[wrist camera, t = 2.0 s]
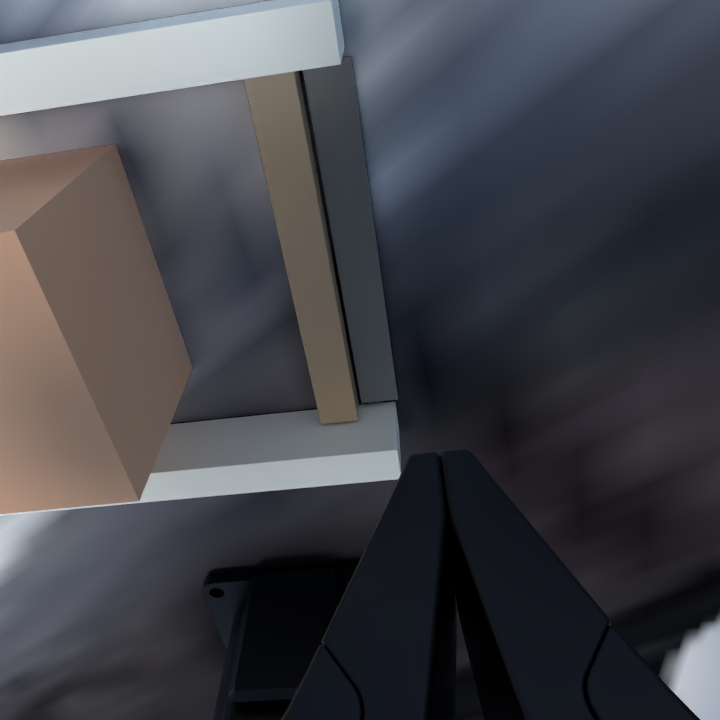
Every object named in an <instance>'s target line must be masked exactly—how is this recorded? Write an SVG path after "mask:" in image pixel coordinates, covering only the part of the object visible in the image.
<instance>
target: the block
mask: <svg viewBox="0 0 720 720" xmlns="http://www.w3.org/2000/svg"><path fill="white" fill-rule="evenodd" d="M192 370H193V366H192V364H191V361H190V358H189V355H188V352H187V349H186V346H185V343H184V340H183V337H182V335H181V332H180V329H179V326H178V323H177V320H176V317H175V314H174V311H173V309H172V306H171V303H170V300H169V297H168V294H167V291H166V288H165V285H164V282H163V280H162V277H161V274H160V271H159V268H158V265H157V262H156V259H155V256H154V254H153V251H152V248H151V245H150V242H149V239H148V236H147V233H146V230H145V227H144V225H143V222H142V219H141V216H140V213H139V210H138V207H137V204H136V201H135V198H134V196H133V193H132V190H131V187H130V184H129V181H128V178H127V175H126V172H125V170H124V167H123V164H122V161H121V158H120V155H119V152H118V149H117V146H116V144H111V145H104V146H97V147H91V148H84V149H77V150H70V151H64V152H57V153H50V154H43V155H36V156H30V157H23V158H16V159H9V160H3V161H0V514H8V513H19V512H29V511H40V510H50V509H61V508H72V507H82V506H93V505H103V504H114V503H125V502H135V501H139V500H140V498H141V495H142V493H143V491H144V488H145V486H146V483H147V481H148V478H149V476H150V473H151V471H152V468H153V466H154V463H155V461H156V458H157V456H158V454H159V451H160V449H161V446H162V444H163V441H164V439H165V436H166V434H167V431H168V429H169V426H170V424H171V421H172V419H173V416H174V414H175V412H176V409H177V407H178V404H179V402H180V399H181V397H182V394H183V392H184V389H185V387H186V384H187V382H188V379H189V377H190V374H191V372H192Z"/></svg>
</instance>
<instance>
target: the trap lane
mask: <svg viewBox="0 0 720 720" xmlns="http://www.w3.org/2000/svg"><path fill="white" fill-rule="evenodd" d="M344 48H345V44H344V37H343V30H342V23H341V16H340V9H339V2H338V0H271V1H265V2H259V3H253V4H246V5H240V6H234V7H228V8H222V9H216V10H210V11H203V12H197V13H191V14H185V15H179V16H173V17H166V18H160V19H154V20H148V21H142V22H136V23H129V24H123V25H117V26H111V27H105V28H99V29H92V30H86V31H80V32H74V33H68V34H62V35H55V36H49V37H43V38H37V39H31V40H25V41H19V42H12V43H6V44H0V116H4V115H10V114H17V113H24V112H30V111H37V110H43V109H50V108H57V107H63V106H70V105H76V104H83V103H90V102H96V101H103V100H109V99H116V98H122V97H129V96H136V95H142V94H149V93H155V92H162V91H169V90H175V89H182V88H188V87H195V86H202V85H208V84H215V83H221V82H228V81H235V80H241V79H243V80H244V84H245V89H246V93H247V97H248V102H249V106H250V111H251V115H252V120H253V124H254V129H255V133H256V137H257V142H258V146H259V151H260V155H261V160H262V164H263V169H264V173H265V177H266V182H267V186H268V191H269V195H270V200H271V204H272V209H273V213H274V217H275V222H276V226H277V231H278V235H279V240H280V244H281V248H282V253H283V257H284V262H285V266H286V271H287V275H288V280H289V284H290V288H291V293H292V297H293V302H294V306H295V311H296V315H297V320H298V324H299V328H300V333H301V337H302V342H303V346H304V351H305V355H306V360H307V364H308V368H309V373H310V377H311V382H312V386H313V391H314V395H315V400H316V404H317V408H318V409H315V410H305V411H296V412H286V413H276V414H266V415H257V416H247V417H237V418H227V419H218V420H208V421H198V422H188V423H179V424H170V426H169V429H168V431H167V434H166V436H165V439H164V441H163V444H162V446H161V449H160V451H159V454H158V456H157V458H156V461H155V463H154V466H153V468H152V471H151V473H150V476H149V478H148V481H147V483H146V486H145V488H144V491H143V493H142V495H141V498H140V500H139V501H135V502H125V503H114V504H103V505H93V506H82V507H72V508H61V509H50V510H40V511H29V512H19V513H8V514H0V516H2V515H13V514H24V513H34V512H45V511H56V510H67V509H78V508H89V507H100V506H111V505H122V504H133V503H144V502H155V501H165V500H176V499H187V498H198V497H209V496H220V495H231V494H242V493H253V492H264V491H275V490H286V489H296V488H307V487H318V486H329V485H340V484H351V483H362V482H373V481H384V480H395V479H399V477H400V475H401V458H400V438H399V425H398V418H397V411H396V404H395V401H393V402H383V403H373V404H364V405H359V401H358V396H357V390H356V385H355V379H354V374H353V368H352V362H351V357H350V351H349V346H348V340H347V335H346V329H345V324H344V318H343V313H342V307H341V301H340V296H339V290H338V285H337V279H336V274H335V268H334V263H333V257H332V252H331V246H330V240H329V235H328V229H327V224H326V218H325V213H324V207H323V202H322V196H321V190H320V185H319V179H318V174H317V168H316V163H315V157H314V152H313V146H312V141H311V135H310V129H309V124H308V118H307V113H306V107H305V102H304V96H303V91H302V85H301V80H300V74H299V71H301V70H303V76H304V81H305V87H306V93H307V98H308V104H309V109H310V115H311V121H312V126H313V132H314V138H315V143H316V149H317V155H318V160H319V166H320V171H321V177H322V183H323V188H324V194H325V200H326V205H327V211H328V217H329V222H330V228H331V233H332V239H333V245H334V250H335V256H336V262H337V267H338V273H339V279H340V284H341V290H342V296H343V301H344V307H345V312H346V318H347V324H348V329H349V335H350V341H351V346H352V352H353V358H354V363H355V369H356V374H357V380H358V386H359V391H360V397H361V403H369V402H379V401H389V400H398V392H397V385H396V377H395V370H394V363H393V356H392V348H391V341H390V334H389V327H388V319H387V312H386V305H385V298H384V290H383V283H382V276H381V269H380V261H379V254H378V247H377V240H376V232H375V225H374V218H373V211H372V203H371V196H370V189H369V182H368V174H367V167H366V160H365V153H364V145H363V138H362V131H361V124H360V116H359V109H358V102H357V95H356V87H355V80H354V73H353V66H352V58H351V56H350V57H344V58H342V56H343V52H344Z"/></svg>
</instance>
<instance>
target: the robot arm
mask: <svg viewBox="0 0 720 720" xmlns="http://www.w3.org/2000/svg"><path fill="white" fill-rule="evenodd" d="M440 462H441V463H440ZM453 578H454V580H453ZM454 587H455V590H454ZM202 595H203V597H204V599H205V601H206V604H207V606H208V608H209V611H210V613H211V615H212V618H213V620H214V622H215V625H216V627H217V629H218V632H219V634H220V636H221V639H222V641H223V643H224V645H225V648H226V650H227V653H226V658H225V663H224V668H223V673H222V678H221V683H220V688H219V693H218V698H217V703H216V708H215V713H214V718H213V720H456V628H457V625H456V601H457V608H458V613H459V617H460V622H461V627H462V631H463V635H464V639H465V643H466V647H467V651H468V655H469V659H470V663H471V667H472V671H473V675H474V679H475V683H476V687H477V692H478V696H479V700H480V704H481V708H482V712H483V716H484V720H700V719H699V718H698V717H697V716H696V715H695V714H694V713H693V712H692V711H691V710H690V709H689V708H688V707H687V706H686V705H685V704H684V703H683V702H682V701H681V700H680V699H679V698H678V697H677V696H676V695H675V694H674V693H673V692H672V690H671V689H670V688H669V687H668V686H667V685H666V684H665V683H664V682H663V681H662V680H661V678H660V677H659V676H658V675H657V674H656V673H655V672H654V670H653V669H652V668H651V667H650V666H649V665H648V664H647V663H646V661H645V660H644V659H643V658H642V657H641V656H640V655H639V653H638V652H637V651H636V650H635V649H634V648H633V646H632V645H631V644H630V643H629V642H628V640H627V639H626V638H625V637H624V635H623V634H622V633H621V632H620V631H619V629H618V628H617V627H616V626H615V625H611V621H610V619H609V618H608V617H607V615H606V614H605V613H604V612H603V611H602V609H601V608H600V607H599V606H598V605H597V603H596V602H595V601H594V600H593V598H592V597H591V596H590V595H589V594H588V592H587V591H586V590H585V589H584V588H583V586H582V585H581V584H580V583H579V582H578V580H577V579H576V578H575V577H574V576H573V574H572V573H571V572H570V571H569V570H568V568H567V567H566V566H565V565H564V563H563V562H562V561H561V560H560V559H559V557H558V556H557V555H556V554H555V553H554V551H553V550H552V549H551V548H550V547H549V545H548V544H547V543H546V542H545V541H544V539H543V538H542V537H541V536H540V535H539V533H538V532H537V531H536V530H535V528H534V527H533V526H532V525H531V524H530V522H529V521H528V520H527V519H526V518H525V516H524V515H523V514H522V513H521V512H520V510H519V509H518V508H517V507H516V506H515V504H514V503H513V502H512V501H511V500H510V498H509V497H508V496H507V495H506V493H505V492H504V491H503V490H502V489H501V487H500V486H499V485H498V484H497V483H496V481H495V480H494V479H493V478H492V477H491V475H490V474H489V473H488V472H487V471H486V469H485V468H484V467H483V466H482V465H481V463H480V462H479V461H478V460H477V458H476V457H475V456H474V455H473V454H472V453H471V452H470V451H468V450H456V451H446V452H443V453H441V455H440V457H439V455H438V454H437V453H425V454H415V455H412V456H410V457H409V459H408V460H407V462H406V464H405V467H404V469H403V471H402V473H401V475H400V477H399V479H398V481H397V483H396V485H395V488H394V490H393V492H392V494H391V496H390V498H389V500H388V502H387V504H386V506H385V509H384V511H383V513H382V515H381V517H380V519H379V521H378V523H377V525H376V527H375V530H374V532H373V534H372V536H371V538H370V540H369V542H368V544H367V546H366V548H365V551H364V553H363V555H362V557H361V559H360V561H359V562H351V563H339V564H326V565H314V566H301V567H289V568H276V569H264V570H252V571H239V572H227V573H215V574H210V575H209V576H207V577H206V578H205V580H204V584H203V588H202ZM455 595H456V601H455Z"/></svg>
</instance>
